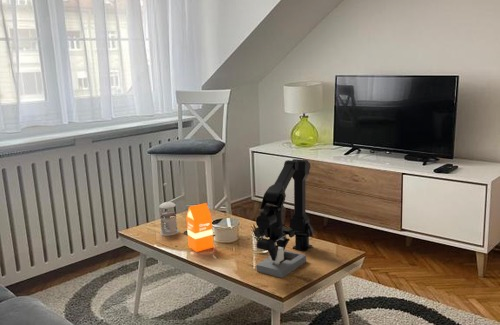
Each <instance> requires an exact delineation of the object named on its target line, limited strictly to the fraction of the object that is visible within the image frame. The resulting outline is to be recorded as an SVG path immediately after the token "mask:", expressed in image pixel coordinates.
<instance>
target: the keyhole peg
mask: <svg viewBox="0 0 500 325" xmlns="http://www.w3.org/2000/svg"><path fill="white" fill-rule="evenodd" d="M284 250H285V249H283V247H278V251H277V256H276V259H275V261H273V260H272V258H271V256H270V255H269V257H270V261H273V262H274V263H275V264H276V265H279V264H280V263H281V262H283V261H284V260H285V257H284Z"/></svg>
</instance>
